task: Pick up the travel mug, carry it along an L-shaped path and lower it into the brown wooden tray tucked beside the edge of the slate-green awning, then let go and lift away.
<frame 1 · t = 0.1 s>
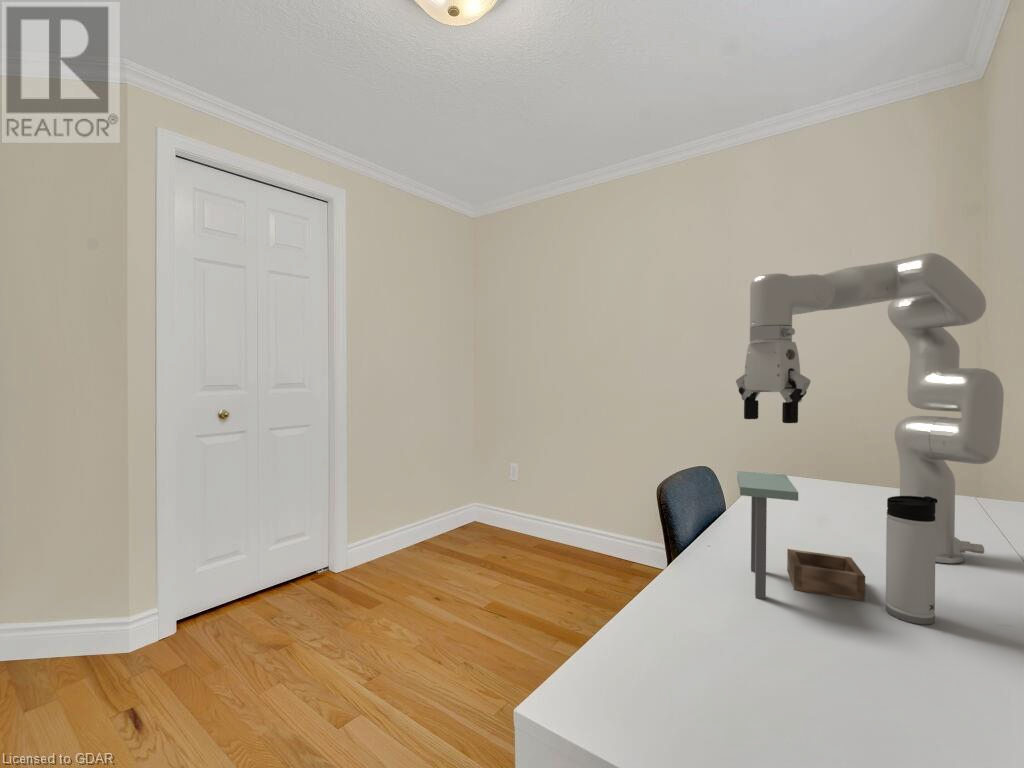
hand: (769, 420, 94), 31 cm above the table, tool pointing down, fingers open, 9 cm apart
travel mug: (910, 617, 78), on the table
brown wooden tray: (823, 584, 90), on the table
awning: (757, 582, 90), on the table
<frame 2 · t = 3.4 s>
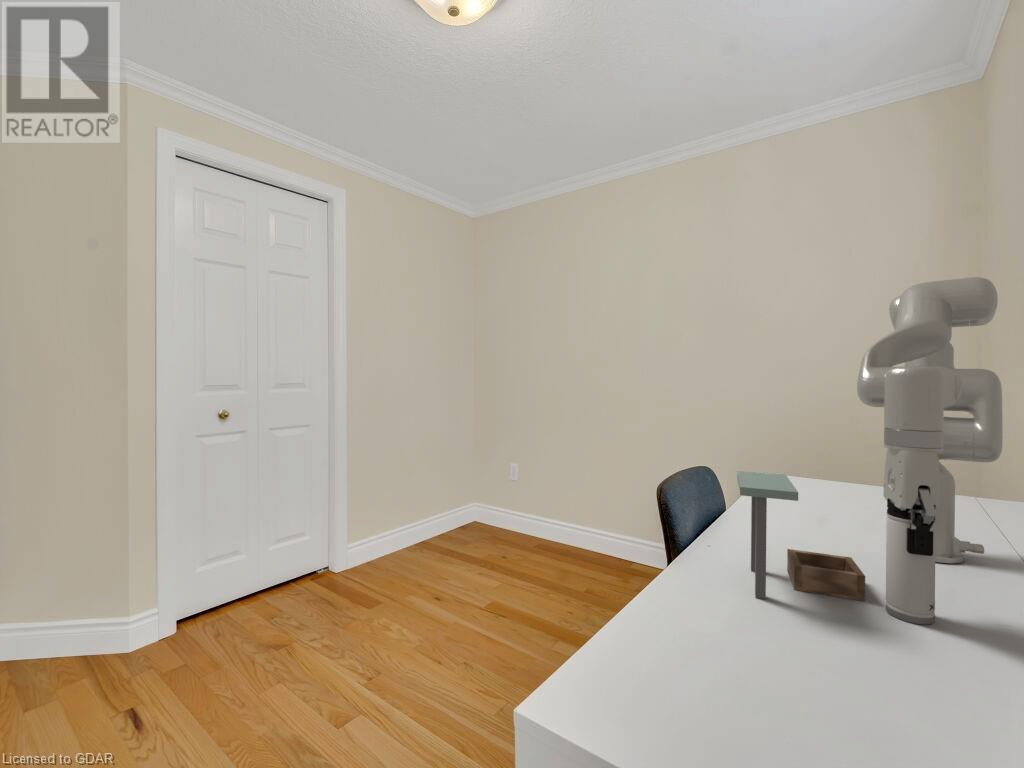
hand: (911, 546, 78), 12 cm above the table, tool pointing down, fingers closed on travel mug, 6 cm apart
travel mug: (910, 617, 78), on the table, touching gripper
when the fingers open (13 cm above the table, at t = 9.4 s): travel mug drops 1 cm, resting on brown wooden tray.
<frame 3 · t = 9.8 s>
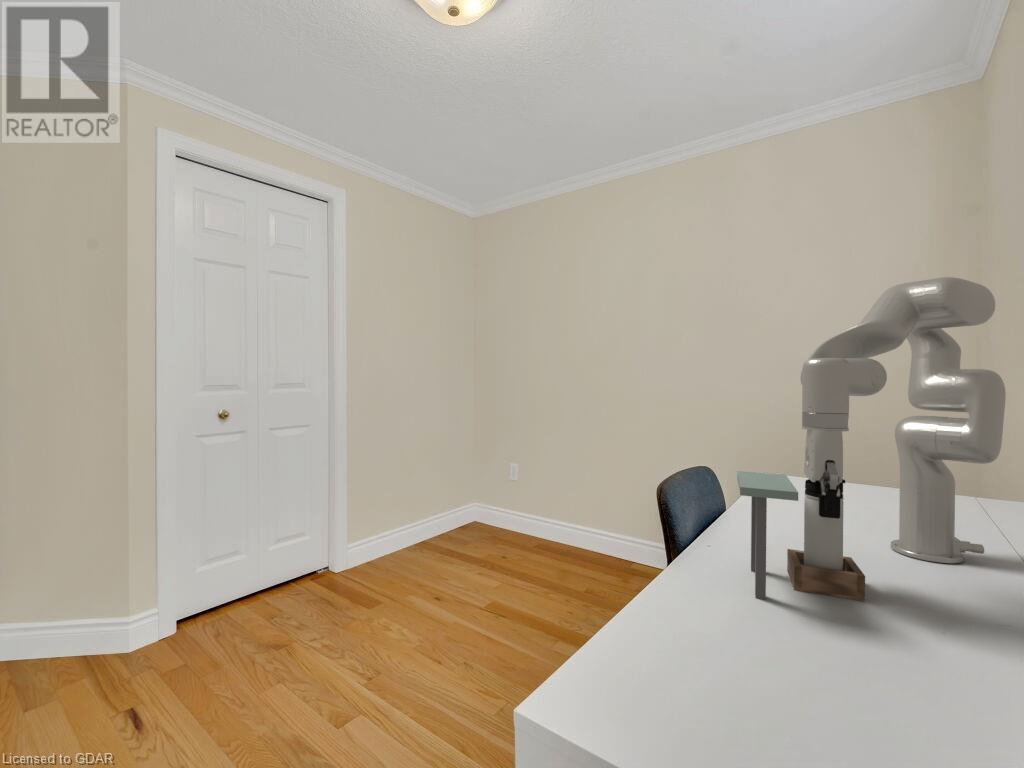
hand: (823, 510, 90), 14 cm above the table, tool pointing down, fingers open, 9 cm apart
travel mug: (823, 582, 90), resting on brown wooden tray
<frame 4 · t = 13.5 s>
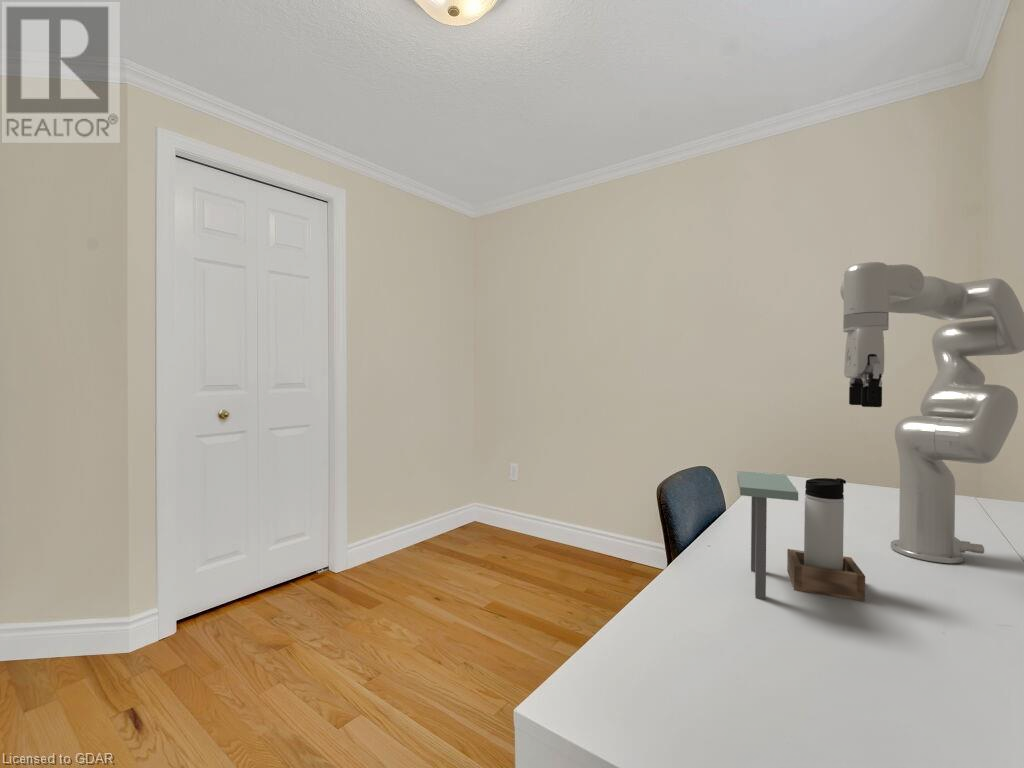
hand: (864, 405, 97), 34 cm above the table, tool pointing down, fingers open, 9 cm apart
nothing on the table moved.
at the end: travel mug 0.4 cm off-centre on the brown wooden tray, point 0.3 cm above the brown wooden tray's base; travel mug tilted 0°; the gripper is holding nothing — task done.
